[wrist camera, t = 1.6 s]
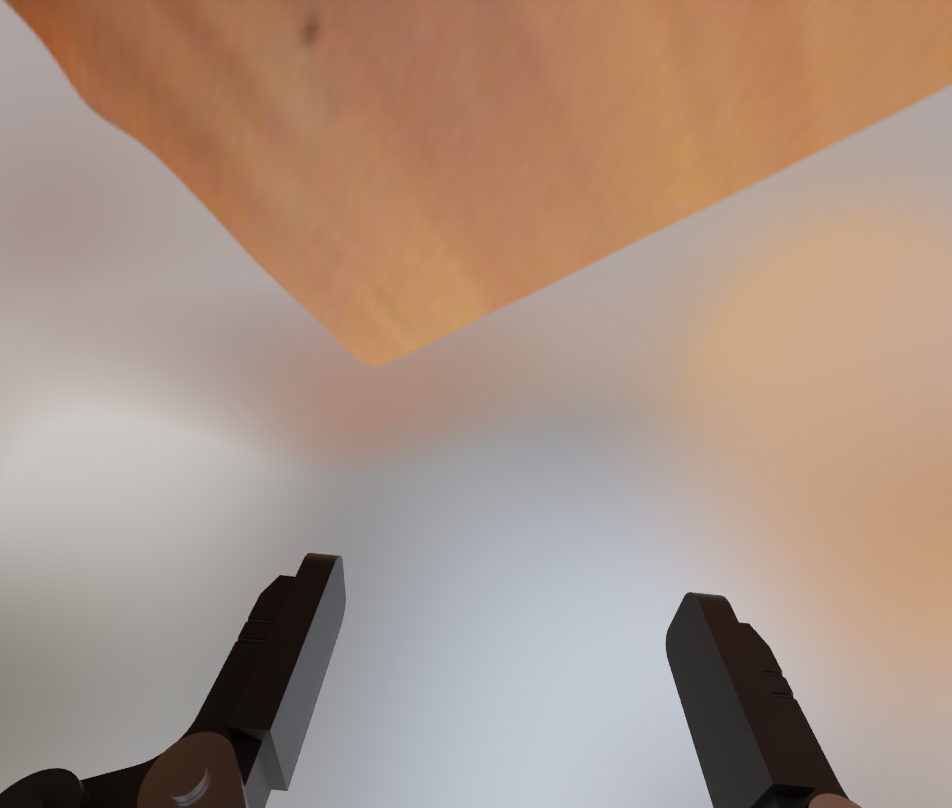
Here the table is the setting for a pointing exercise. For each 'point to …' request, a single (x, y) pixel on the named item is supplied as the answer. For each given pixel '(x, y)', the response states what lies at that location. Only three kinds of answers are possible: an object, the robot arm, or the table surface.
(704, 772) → the robot arm
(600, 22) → the table surface
